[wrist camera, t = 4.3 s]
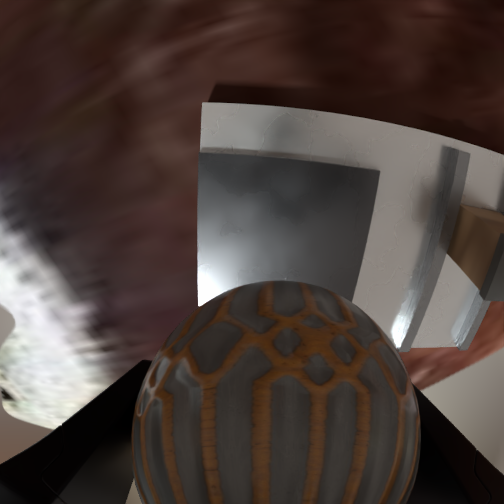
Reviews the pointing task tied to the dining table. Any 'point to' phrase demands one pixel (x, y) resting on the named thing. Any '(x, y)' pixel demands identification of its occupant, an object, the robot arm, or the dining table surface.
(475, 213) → the brown block
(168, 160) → the dining table surface
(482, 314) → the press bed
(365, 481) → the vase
